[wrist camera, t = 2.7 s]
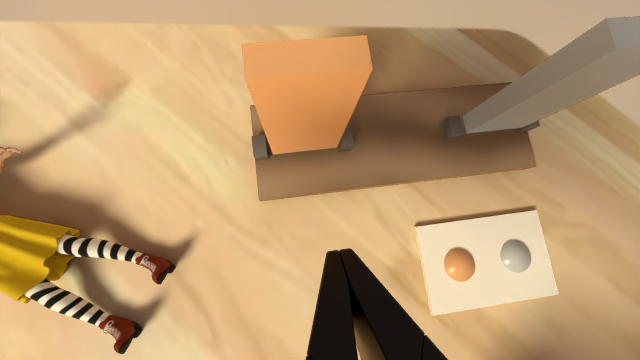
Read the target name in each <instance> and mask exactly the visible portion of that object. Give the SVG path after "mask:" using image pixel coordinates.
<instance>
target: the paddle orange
mask: <svg viewBox="0 0 640 360" xmlns="http://www.w3.org/2000/svg"><path fill="white" fill-rule="evenodd" d="M242 54H243V65H244V76H245V81H246V84H247V86H248V89H249V92H250V94H251V97H252V100H253V102H254V105H255V108H256V110H257V113H258V116H259V118H260V121H261V124H262V126H263V129H264V132H265V134H266V137H267V140H268V142H269V145H270V148H271V150H272V153H273V154H282V153H292V152H301V151H310V150H320V149H329V148H337V146H338V144H339V142H340V139H341V137H342V135H343V133H344V131H345V128H346V126H347V124H348V122H349V120H350V117H351V115H352V113H353V111H354V109H355V107H356V104H357V102H358V100H359V98H360V96H361V93H362V91H363V89H364V87H365V85H366V82H367V80H368V78H369V76H370V74H371V72H372V69H373V68H372V62H371V57H370V51H369V45H368V40H367V35H363V36H348V37H334V38H319V39H304V40H289V41H275V42H260V43H245V44H242Z"/></svg>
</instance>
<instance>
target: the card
mask: <svg viewBox="0 0 640 360" xmlns="http://www.w3.org/2000/svg"><path fill="white" fill-rule="evenodd" d="M414 228H415V234H416V239H417V244H418V250H419V255H420V261H421V266H422V271H423V277H424V282H425V288H426V293H427V298H428V304H429V309H430V314H431V315H432V316H434V315H440V314H446V313H452V312H458V311H464V310H470V309H475V308H481V307H487V306H493V305H499V304H505V303H511V302H517V301H522V300H528V299H534V298H540V297H546V296H552V295H558V294H559V293H558V289H557V285H556V281H555V277H554V274H553V270H552V266H551V262H550V258H549V254H548V251H547V247H546V243H545V239H544V235H543V231H542V227H541V224H540V220H539V216H538V212H537V210H533V211H525V212H518V213H511V214H504V215H496V216H489V217H482V218H474V219H467V220H460V221H453V222H445V223H438V224H431V225H424V226H416V227H414Z"/></svg>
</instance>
